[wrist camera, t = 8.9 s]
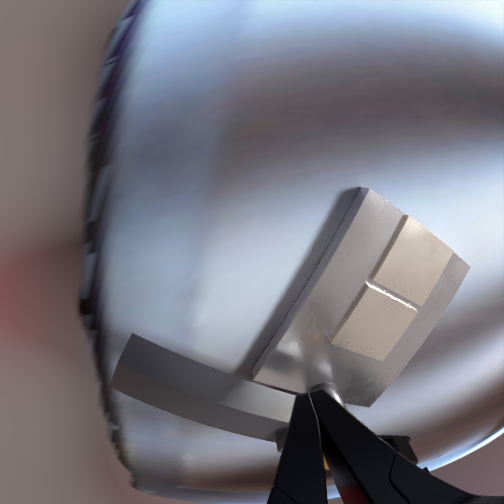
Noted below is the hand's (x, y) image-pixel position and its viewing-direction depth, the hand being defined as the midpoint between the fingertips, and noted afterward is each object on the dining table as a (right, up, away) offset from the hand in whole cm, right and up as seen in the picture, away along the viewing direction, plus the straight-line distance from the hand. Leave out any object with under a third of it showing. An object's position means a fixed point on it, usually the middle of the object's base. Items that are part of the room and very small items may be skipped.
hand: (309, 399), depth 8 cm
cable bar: (-2, -4, +8) cm, 9 cm away
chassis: (+6, 0, +11) cm, 12 cm away
